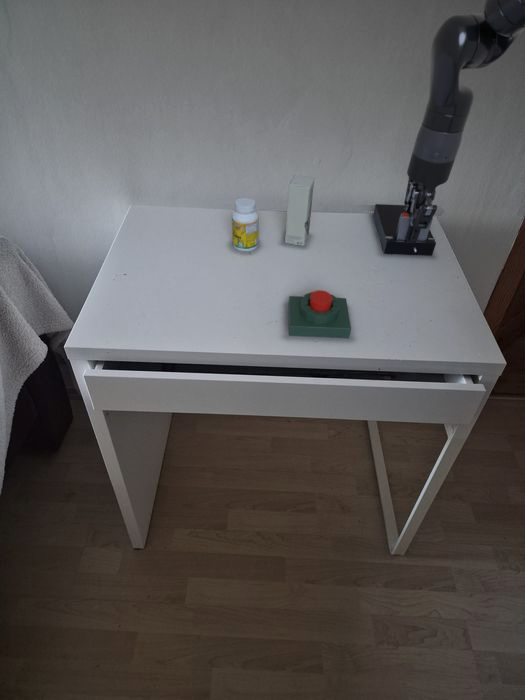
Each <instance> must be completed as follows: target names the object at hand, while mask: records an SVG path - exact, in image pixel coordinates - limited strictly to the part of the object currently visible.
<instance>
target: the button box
mask: <svg viewBox="0 0 525 700" xmlns="http://www.w3.org/2000/svg"><path fill="white" fill-rule="evenodd" d="M313 292H314V291H311V292H308V293H305V294H304V295H303V296H300V295H299V296H298V295H290V296H289V297H288V337H305V338H307V337H309V338H310V337H311V338H314V337H315V338H334V339H349V338H350V335H351V330H352V326H351V320H350V314H349V309H348V307H349V306H348V301H347V298H345V297H336V296H335V295H334V294H331V296H332V303H331V308H330V309H329V310H328V311H325V312H321V311H316V310H313V309H311V307H310V305H309V303H310V296H311V294H312V293H313Z"/></svg>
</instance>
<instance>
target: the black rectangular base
mask: <svg viewBox="0 0 525 700" xmlns="http://www.w3.org/2000/svg"><path fill="white" fill-rule="evenodd" d="M405 208H406V205H405V204H387V203H385V204H384V203H375V205H374V208H373V209H374V210H373V214H372V218H373V221H374V225H375V228H376V231H377V234H378V235H377V236H378V238H379V241H380V245H381V249H382V252H383V255H398V256H401V255H402V256H425V257H432V256H433V254H434V251H435V249H436V246H437V242H436V238H435V237H434V235H433V233H432V231H431V228H430V229H429V232H428V235H427V239H426V241H417V242H415V243H413V242H406V240H396V237H395V234H396V230H397V227H398V223H399V219H400V216H401V213H407V212H405ZM419 210H420V209H419Z"/></svg>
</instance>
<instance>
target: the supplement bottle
mask: <svg viewBox="0 0 525 700" xmlns="http://www.w3.org/2000/svg"><path fill="white" fill-rule="evenodd" d="M234 209H235V210H233V212H232V213H231V228H232V229H231V230H232V231H231V232H232V233H231V235H232V245H233V248H234V249H236V250H237V251H240V252H252V251H254V250H256V249H257V248H258V247H259V231H260V230H259V226H260V225H259V223H260V222H259V221H260V220H259V219H260V216H259V213H258V211H257V210H256V201H255V200H254V199H253V198H250V197H240V198H237V199H236V200H235V201H234Z"/></svg>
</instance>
